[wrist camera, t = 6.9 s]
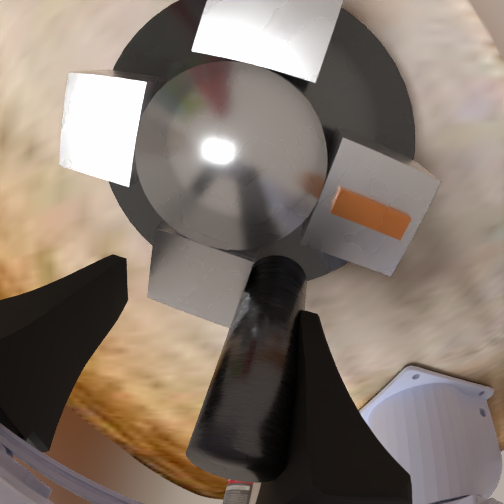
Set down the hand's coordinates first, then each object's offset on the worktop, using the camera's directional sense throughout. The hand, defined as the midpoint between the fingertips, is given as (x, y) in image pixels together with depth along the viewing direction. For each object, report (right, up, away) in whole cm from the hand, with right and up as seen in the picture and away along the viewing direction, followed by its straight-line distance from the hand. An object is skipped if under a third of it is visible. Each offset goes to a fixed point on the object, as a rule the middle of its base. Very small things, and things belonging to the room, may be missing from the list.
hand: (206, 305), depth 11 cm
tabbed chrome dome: (+1, +6, 0) cm, 6 cm away
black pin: (+3, +1, +2) cm, 3 cm away
